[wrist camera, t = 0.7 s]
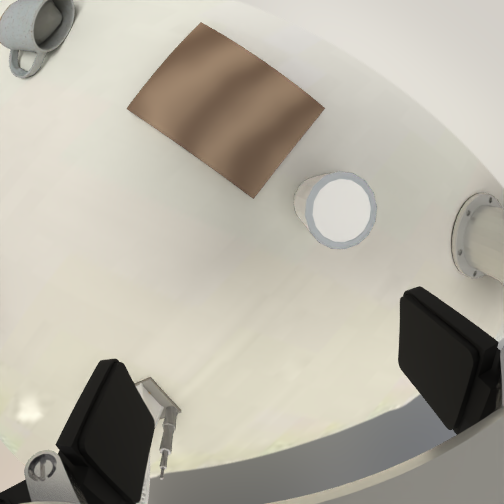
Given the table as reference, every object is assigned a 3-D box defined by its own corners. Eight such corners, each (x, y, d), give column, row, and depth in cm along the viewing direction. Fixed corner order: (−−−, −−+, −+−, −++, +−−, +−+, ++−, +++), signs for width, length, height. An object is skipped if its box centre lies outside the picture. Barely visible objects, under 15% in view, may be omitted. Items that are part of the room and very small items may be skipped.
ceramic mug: (39, 8, 21) (11, -12, 14) (83, 7, 22) (57, -19, 15) (7, 78, 24) (-29, 68, 16) (48, 82, 25) (12, 68, 18)
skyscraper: (137, 424, 38) (104, 585, 11) (102, 389, 36) (40, 556, 9) (181, 410, 38) (165, 594, 11) (145, 371, 35) (93, 571, 9)
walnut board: (320, 110, 29) (324, 108, 28) (252, 197, 31) (253, 198, 30) (201, 28, 25) (200, 22, 24) (130, 111, 27) (126, 108, 26)
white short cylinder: (314, 157, 30) (338, 154, 24) (359, 197, 32) (390, 205, 25) (274, 207, 32) (288, 218, 25) (322, 245, 33) (346, 264, 26)
